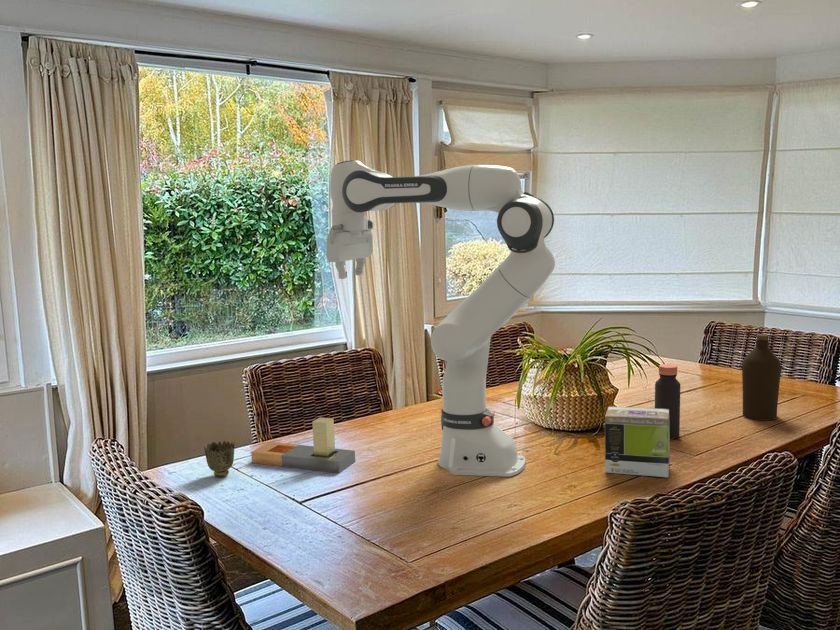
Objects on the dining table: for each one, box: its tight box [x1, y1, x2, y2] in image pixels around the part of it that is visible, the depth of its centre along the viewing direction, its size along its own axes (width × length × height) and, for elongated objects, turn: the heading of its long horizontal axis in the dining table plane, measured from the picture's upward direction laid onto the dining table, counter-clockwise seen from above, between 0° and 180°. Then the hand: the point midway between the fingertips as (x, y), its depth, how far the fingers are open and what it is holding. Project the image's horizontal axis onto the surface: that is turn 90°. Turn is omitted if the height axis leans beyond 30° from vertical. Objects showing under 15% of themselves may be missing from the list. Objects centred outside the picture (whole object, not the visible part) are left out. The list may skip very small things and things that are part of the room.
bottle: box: [654, 363, 681, 440], centre depth 212 cm, size 7×7×20 cm
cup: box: [203, 440, 236, 478], centre depth 191 cm, size 8×7×8 cm
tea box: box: [604, 405, 670, 478], centre depth 186 cm, size 15×10×15 cm
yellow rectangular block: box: [311, 417, 336, 458], centre depth 196 cm, size 4×4×12 cm
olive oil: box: [741, 333, 782, 421], centre depth 227 cm, size 11×11×25 cm
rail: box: [250, 441, 356, 474], centre depth 200 cm, size 26×9×3 cm, turn 68°
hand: (351, 276), depth 200 cm, fingers open, 8 cm apart
